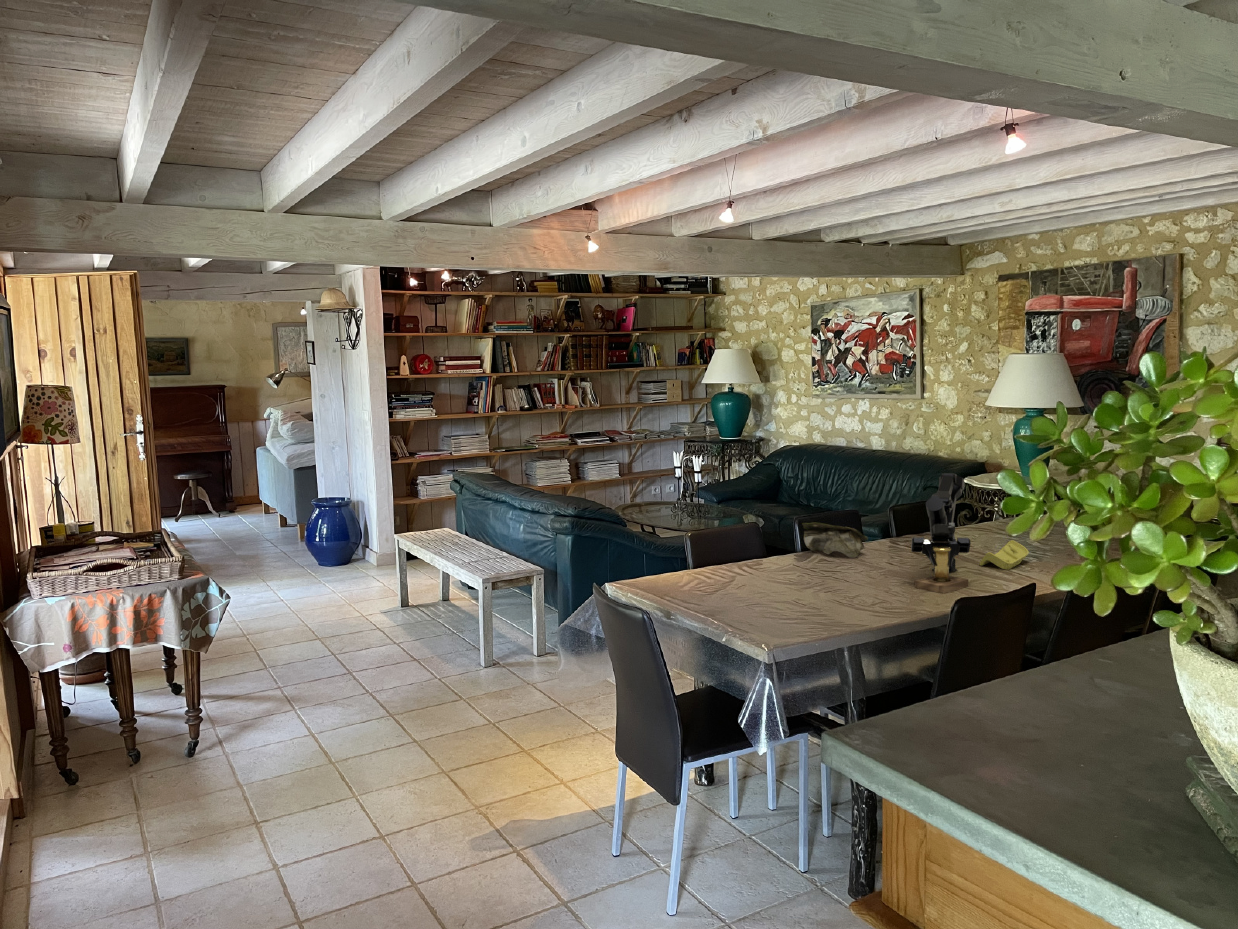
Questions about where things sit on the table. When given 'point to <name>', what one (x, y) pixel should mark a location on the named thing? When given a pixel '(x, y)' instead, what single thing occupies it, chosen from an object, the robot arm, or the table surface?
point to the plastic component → (1006, 556)
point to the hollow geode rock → (833, 539)
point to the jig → (941, 584)
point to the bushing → (941, 563)
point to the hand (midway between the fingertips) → (942, 566)
